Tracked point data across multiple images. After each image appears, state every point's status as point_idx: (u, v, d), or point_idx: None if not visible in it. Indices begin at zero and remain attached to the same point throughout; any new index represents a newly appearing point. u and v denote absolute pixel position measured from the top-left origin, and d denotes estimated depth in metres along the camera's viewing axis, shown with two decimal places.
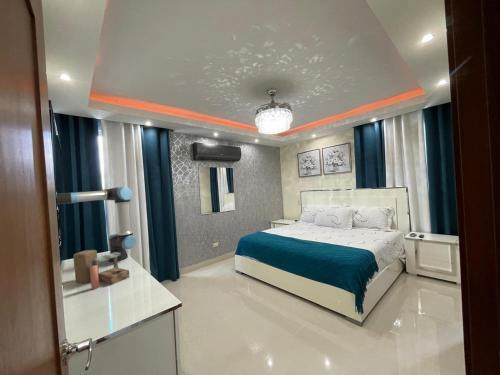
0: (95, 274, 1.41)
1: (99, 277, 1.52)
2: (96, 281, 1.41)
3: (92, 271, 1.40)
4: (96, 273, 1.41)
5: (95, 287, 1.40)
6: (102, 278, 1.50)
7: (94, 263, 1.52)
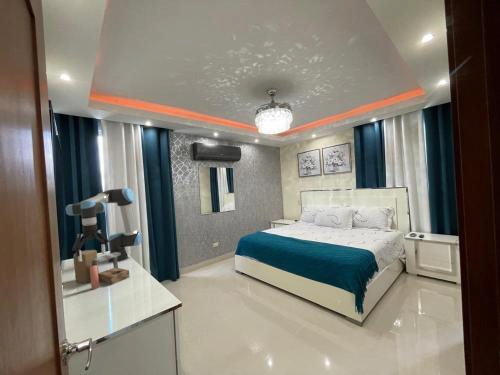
0: (95, 274, 1.41)
1: (99, 277, 1.52)
2: (96, 281, 1.41)
3: (92, 271, 1.40)
4: (96, 273, 1.41)
5: (95, 287, 1.40)
6: (102, 278, 1.50)
7: (94, 263, 1.52)
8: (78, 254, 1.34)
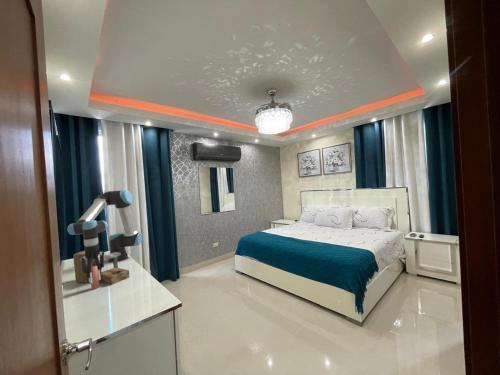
0: (95, 274, 1.41)
1: None
2: (96, 281, 1.41)
3: (92, 271, 1.40)
4: (96, 273, 1.41)
5: (95, 287, 1.40)
6: (102, 278, 1.50)
7: (94, 263, 1.52)
8: (89, 276, 1.39)
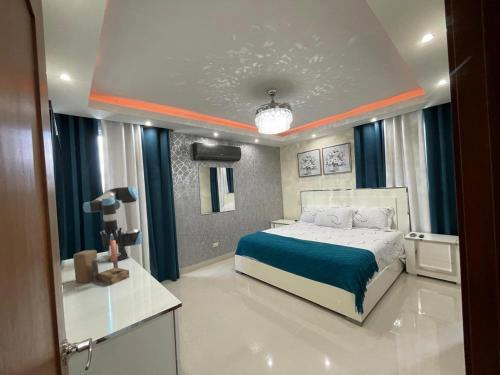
0: (113, 247, 1.51)
1: (99, 277, 1.52)
2: (114, 254, 1.51)
3: (111, 244, 1.50)
4: (114, 246, 1.51)
5: (114, 259, 1.50)
6: (102, 278, 1.50)
7: (94, 263, 1.52)
8: (108, 249, 1.49)
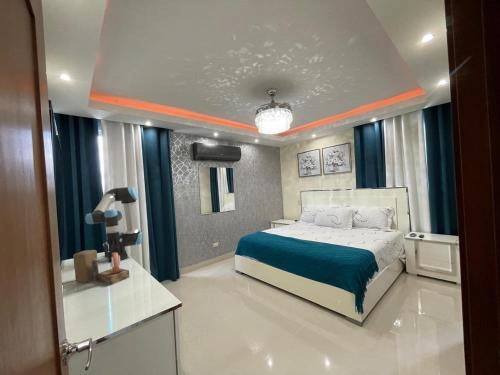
0: (116, 260, 1.51)
1: (99, 277, 1.52)
2: (117, 267, 1.52)
3: (114, 258, 1.51)
4: (117, 260, 1.52)
5: (116, 272, 1.51)
6: (102, 278, 1.50)
7: (94, 263, 1.52)
8: (110, 260, 1.49)
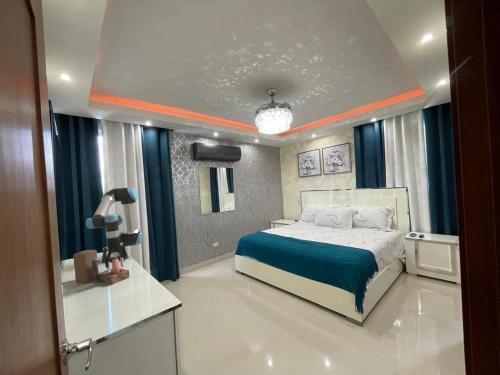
0: (117, 267, 1.51)
1: (99, 277, 1.52)
2: (117, 273, 1.52)
3: (114, 264, 1.51)
4: (117, 266, 1.52)
5: None
6: (102, 278, 1.50)
7: (94, 263, 1.52)
8: (107, 266, 1.47)
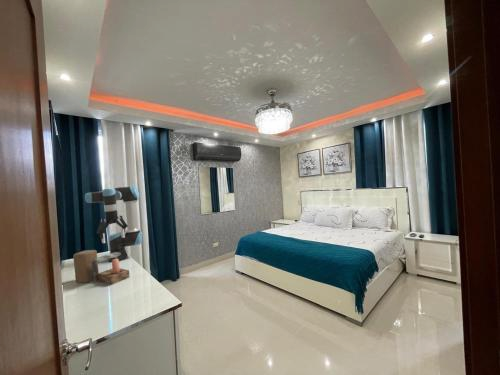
0: (117, 267, 1.51)
1: (99, 277, 1.52)
2: None
3: (114, 264, 1.51)
4: (117, 266, 1.52)
5: None
6: (102, 278, 1.50)
7: (94, 263, 1.52)
8: (102, 237, 1.50)
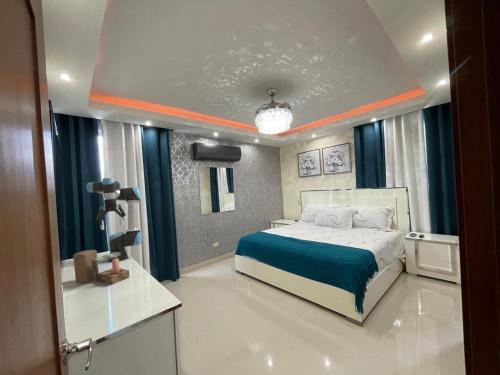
0: (117, 267, 1.52)
1: (99, 277, 1.52)
2: None
3: (114, 264, 1.51)
4: (118, 266, 1.52)
5: None
6: (102, 278, 1.50)
7: (94, 263, 1.52)
8: (101, 223, 1.55)
